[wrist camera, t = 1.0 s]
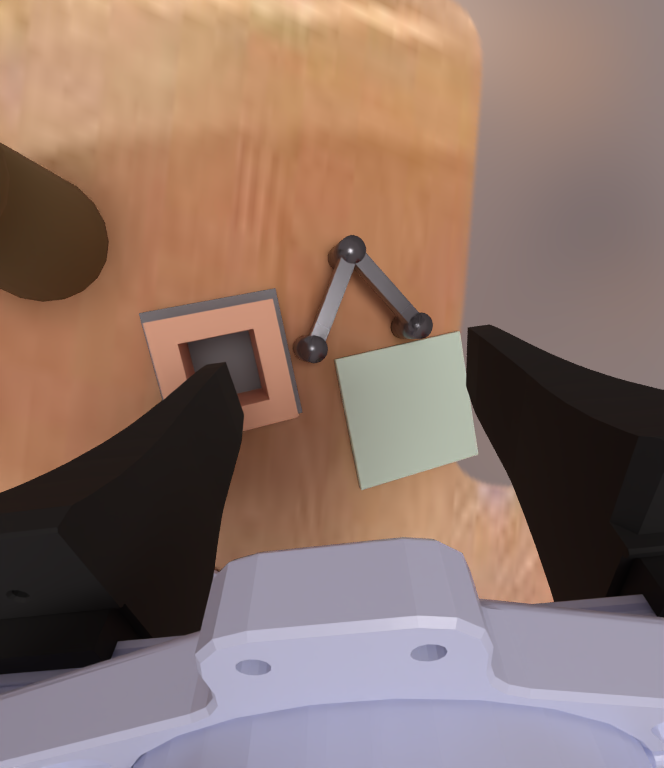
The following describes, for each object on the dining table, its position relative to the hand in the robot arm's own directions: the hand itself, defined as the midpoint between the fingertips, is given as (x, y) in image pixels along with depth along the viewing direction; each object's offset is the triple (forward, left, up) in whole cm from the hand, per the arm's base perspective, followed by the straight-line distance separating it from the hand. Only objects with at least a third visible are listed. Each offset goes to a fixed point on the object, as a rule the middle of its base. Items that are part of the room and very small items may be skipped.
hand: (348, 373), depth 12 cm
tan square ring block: (0, +4, -11) cm, 12 cm away
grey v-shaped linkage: (+2, -3, -11) cm, 12 cm away
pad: (-5, -6, -11) cm, 14 cm away
